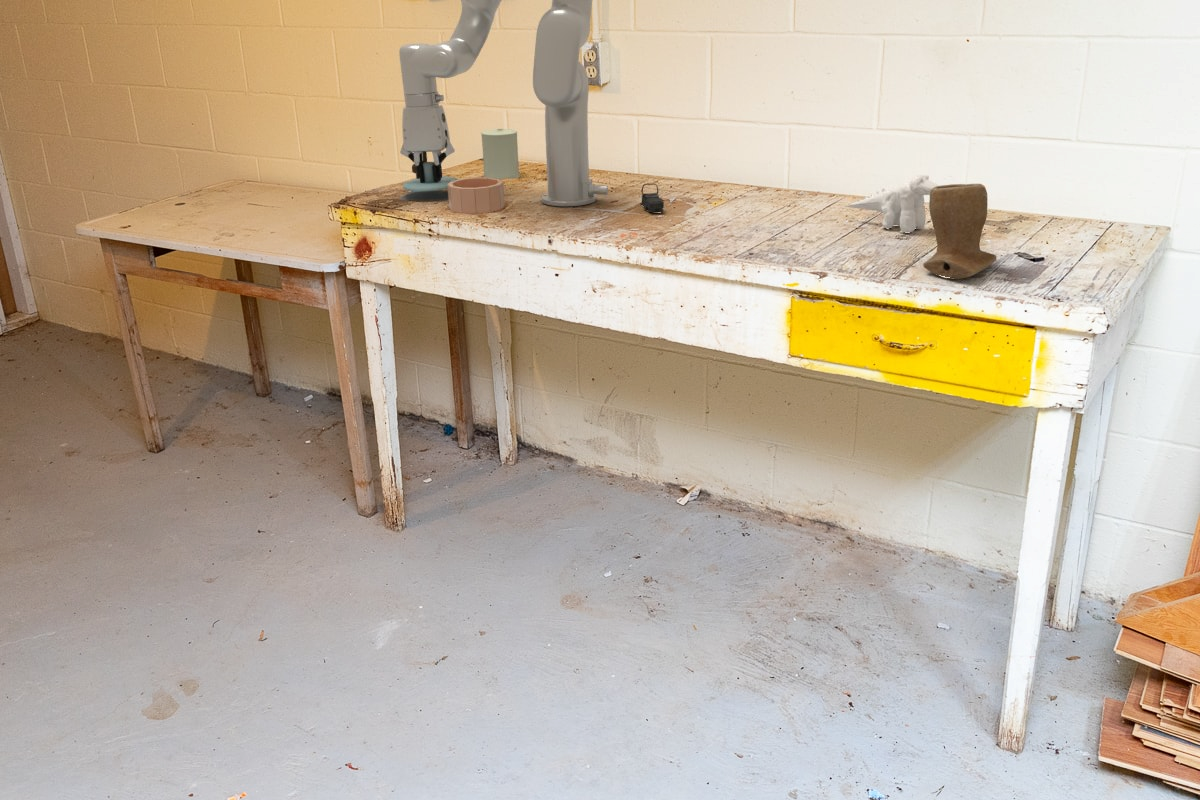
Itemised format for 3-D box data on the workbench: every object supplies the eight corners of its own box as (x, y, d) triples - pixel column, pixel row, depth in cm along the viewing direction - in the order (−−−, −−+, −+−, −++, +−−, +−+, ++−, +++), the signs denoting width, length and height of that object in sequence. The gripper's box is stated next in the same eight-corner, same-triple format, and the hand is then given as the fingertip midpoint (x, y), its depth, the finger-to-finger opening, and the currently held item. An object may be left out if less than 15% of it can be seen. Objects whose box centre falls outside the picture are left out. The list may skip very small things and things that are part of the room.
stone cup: (937, 255, 192) (946, 173, 186) (1003, 265, 185) (1014, 180, 179) (903, 274, 181) (911, 188, 175) (971, 286, 174) (982, 196, 168)
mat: (459, 193, 251) (459, 191, 250) (447, 203, 242) (446, 200, 241) (412, 193, 253) (412, 190, 253) (397, 202, 244) (397, 199, 244)
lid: (465, 179, 251) (463, 157, 249) (449, 190, 239) (446, 167, 237) (414, 180, 253) (411, 158, 251) (395, 191, 241) (392, 168, 239)
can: (520, 173, 272) (517, 126, 268) (519, 180, 264) (517, 132, 259) (484, 174, 272) (481, 127, 267) (483, 181, 263) (479, 133, 259)
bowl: (509, 204, 239) (508, 177, 237) (495, 216, 228) (494, 189, 226) (459, 203, 241) (457, 177, 239) (443, 215, 230) (441, 188, 228)
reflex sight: (647, 216, 226) (647, 193, 224) (640, 205, 235) (640, 183, 233) (665, 215, 226) (665, 192, 225) (657, 204, 236) (657, 182, 234)
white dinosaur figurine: (943, 237, 199) (944, 179, 196) (835, 230, 216) (834, 176, 212) (961, 230, 204) (962, 173, 200) (853, 224, 220) (853, 171, 217)
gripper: (460, 97, 240) (468, 177, 247) (393, 99, 243) (403, 178, 250) (450, 101, 234) (459, 184, 241) (381, 104, 237) (392, 185, 244)
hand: (430, 180), depth 245 cm, fingers closed on lid, 2 cm apart
